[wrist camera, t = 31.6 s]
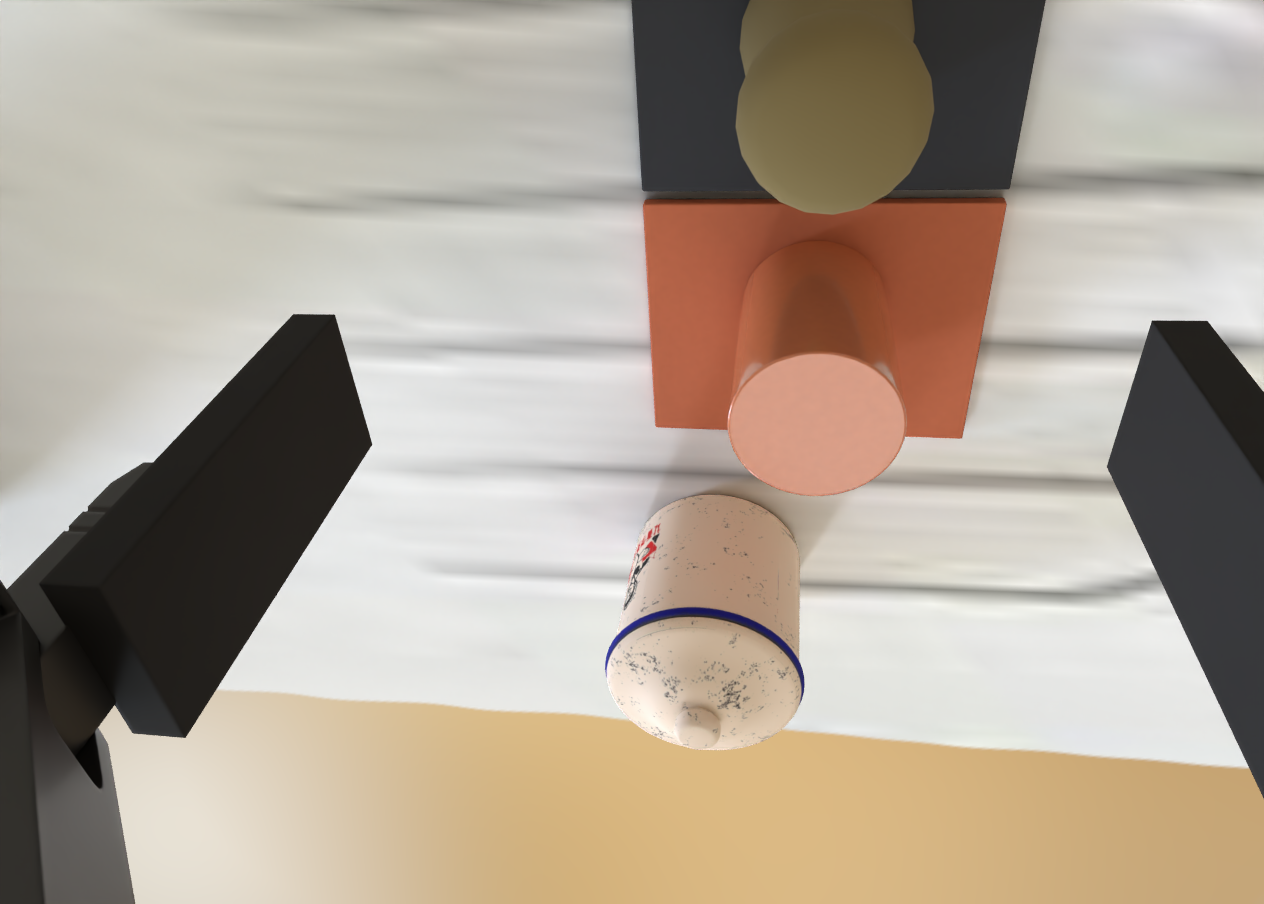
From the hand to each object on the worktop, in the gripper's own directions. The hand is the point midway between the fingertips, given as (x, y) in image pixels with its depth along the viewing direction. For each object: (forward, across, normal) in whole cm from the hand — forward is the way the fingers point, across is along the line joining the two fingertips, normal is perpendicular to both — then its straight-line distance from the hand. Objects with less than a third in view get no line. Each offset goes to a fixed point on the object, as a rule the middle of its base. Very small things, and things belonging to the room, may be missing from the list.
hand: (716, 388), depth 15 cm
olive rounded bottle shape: (+22, -2, -1) cm, 22 cm away
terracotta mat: (+22, -3, +11) cm, 25 cm away
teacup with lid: (+23, +2, +26) cm, 35 cm away
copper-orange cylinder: (+22, -3, +10) cm, 24 cm away
